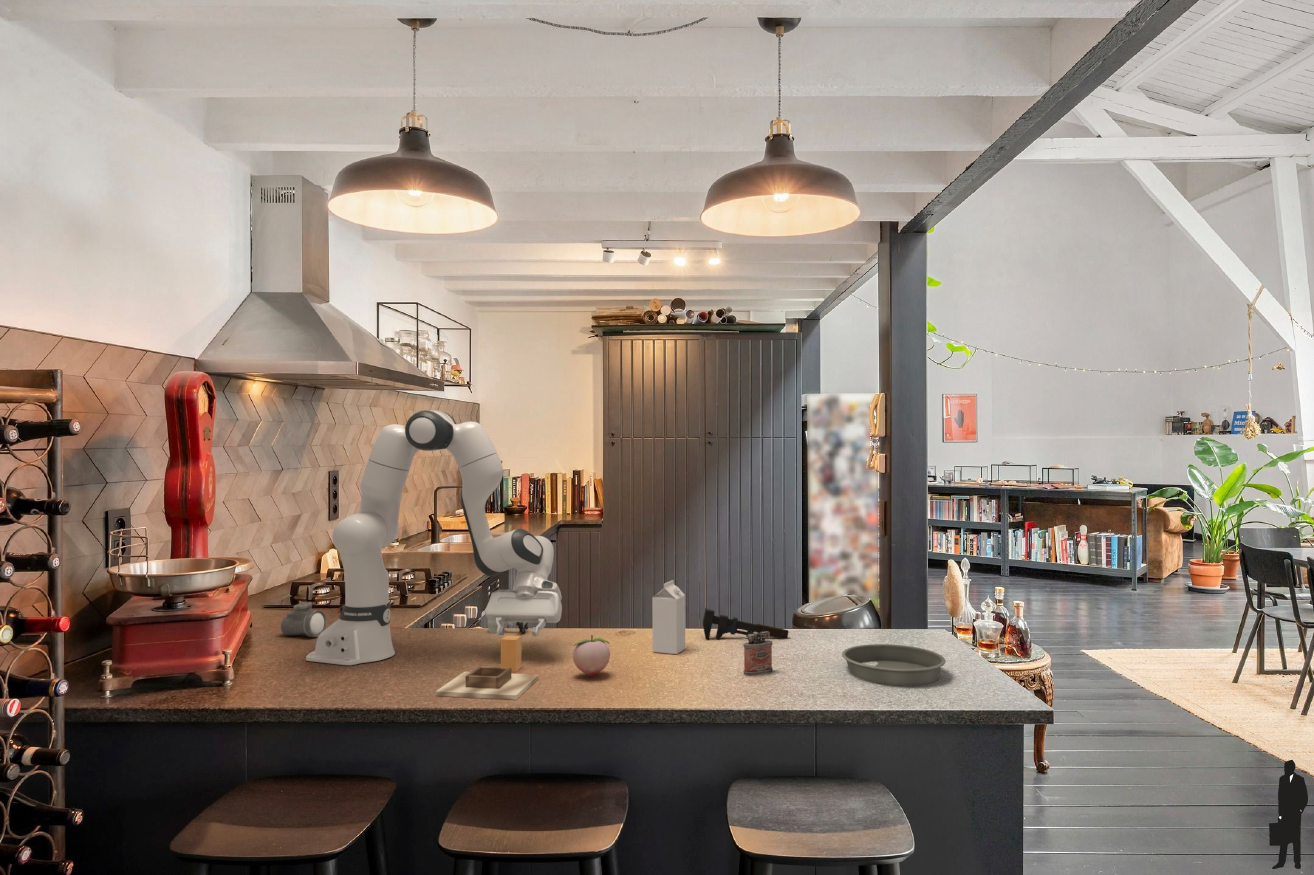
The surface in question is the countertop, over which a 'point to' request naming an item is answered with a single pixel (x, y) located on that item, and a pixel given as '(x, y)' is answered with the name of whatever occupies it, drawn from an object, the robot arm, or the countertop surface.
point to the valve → (494, 626)
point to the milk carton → (669, 619)
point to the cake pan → (894, 664)
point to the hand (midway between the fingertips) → (517, 634)
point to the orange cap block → (511, 652)
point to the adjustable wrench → (737, 626)
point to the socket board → (488, 684)
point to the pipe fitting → (304, 621)
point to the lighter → (758, 654)
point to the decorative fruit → (591, 655)
